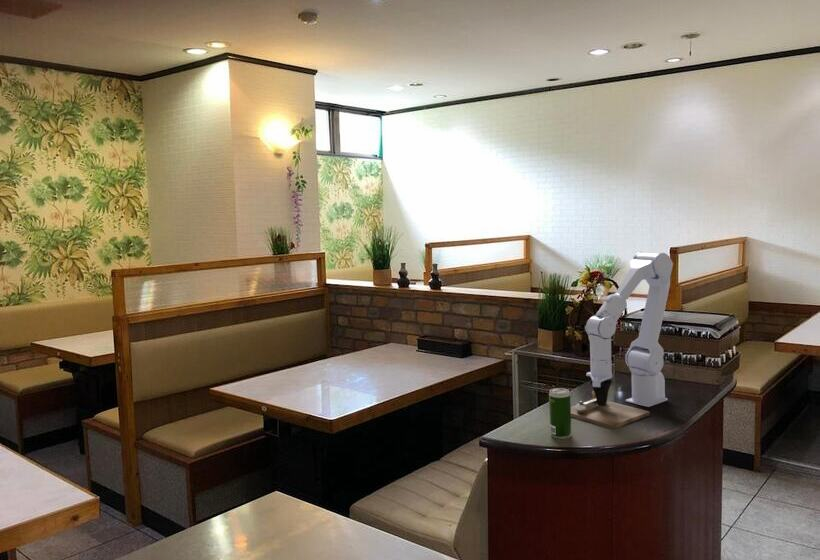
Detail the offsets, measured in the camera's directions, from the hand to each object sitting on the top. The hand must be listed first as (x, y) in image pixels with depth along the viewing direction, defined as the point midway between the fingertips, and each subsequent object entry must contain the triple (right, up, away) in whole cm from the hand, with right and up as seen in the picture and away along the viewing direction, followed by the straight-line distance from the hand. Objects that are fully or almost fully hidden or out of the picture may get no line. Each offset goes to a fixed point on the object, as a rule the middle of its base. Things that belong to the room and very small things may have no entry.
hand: (601, 405), depth 186 cm
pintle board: (0, -2, -2) cm, 3 cm away
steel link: (-2, -1, +1) cm, 3 cm away
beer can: (-15, -5, -16) cm, 23 cm away
